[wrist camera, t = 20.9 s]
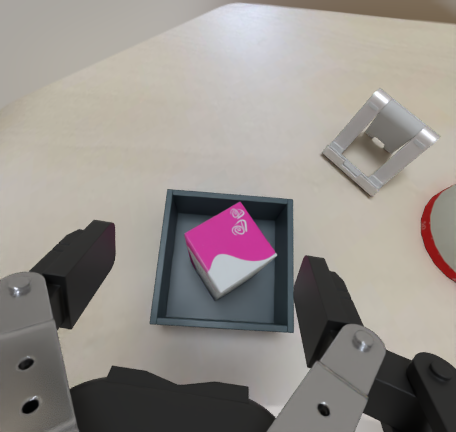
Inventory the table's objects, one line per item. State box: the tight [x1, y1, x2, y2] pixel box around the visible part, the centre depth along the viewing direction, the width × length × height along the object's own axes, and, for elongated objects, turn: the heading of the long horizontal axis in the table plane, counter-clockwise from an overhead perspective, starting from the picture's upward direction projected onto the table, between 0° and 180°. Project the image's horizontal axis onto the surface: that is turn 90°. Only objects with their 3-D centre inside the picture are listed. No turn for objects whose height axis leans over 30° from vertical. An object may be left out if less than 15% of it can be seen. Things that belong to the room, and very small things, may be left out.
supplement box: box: [184, 202, 277, 301], centre depth 29 cm, size 6×6×12 cm
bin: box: [150, 189, 294, 333], centre depth 32 cm, size 13×13×6 cm
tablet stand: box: [322, 88, 440, 196], centre depth 37 cm, size 9×8×8 cm
